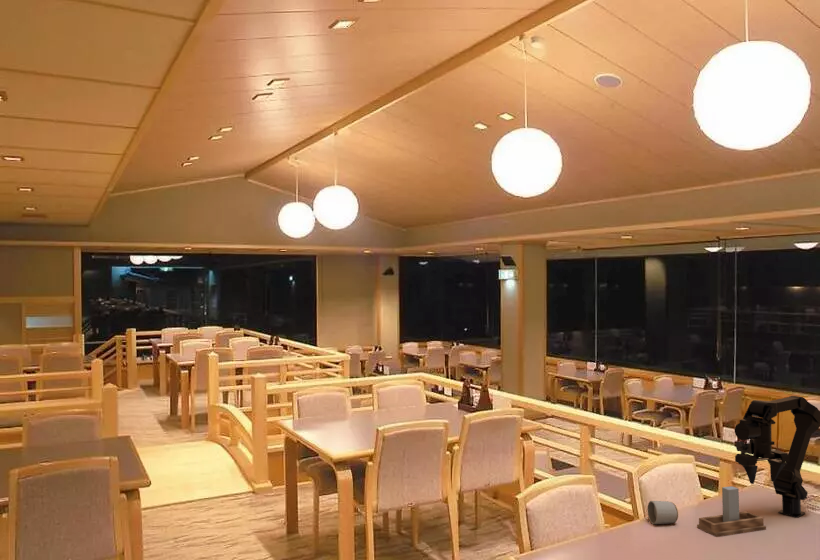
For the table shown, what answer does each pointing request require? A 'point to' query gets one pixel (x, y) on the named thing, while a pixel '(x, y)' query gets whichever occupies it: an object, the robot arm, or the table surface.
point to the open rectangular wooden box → (731, 524)
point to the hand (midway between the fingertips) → (762, 482)
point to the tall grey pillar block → (730, 503)
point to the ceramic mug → (662, 512)
